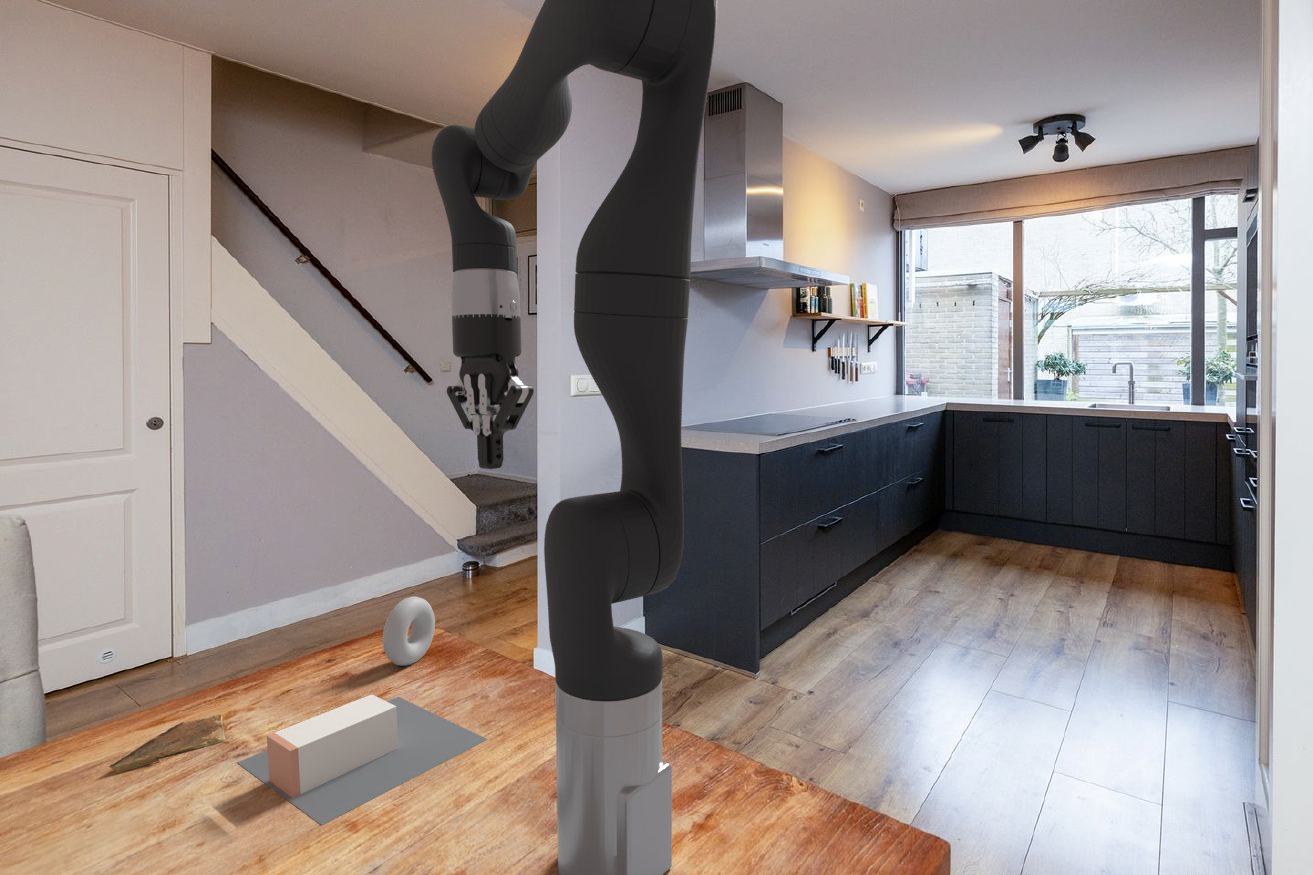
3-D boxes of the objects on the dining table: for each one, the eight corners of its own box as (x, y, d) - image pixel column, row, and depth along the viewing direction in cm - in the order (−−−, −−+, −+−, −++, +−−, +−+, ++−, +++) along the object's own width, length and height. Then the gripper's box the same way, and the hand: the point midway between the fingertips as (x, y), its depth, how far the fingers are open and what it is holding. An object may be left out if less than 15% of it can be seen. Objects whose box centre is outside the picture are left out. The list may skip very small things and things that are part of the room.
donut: (398, 679, 102) (396, 610, 101) (378, 675, 103) (375, 607, 102) (440, 652, 112) (438, 589, 111) (421, 649, 113) (419, 586, 112)
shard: (109, 779, 79) (108, 763, 78) (114, 748, 85) (113, 733, 85) (226, 750, 85) (225, 735, 84) (222, 723, 91) (221, 709, 91)
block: (396, 706, 82) (290, 750, 73) (398, 748, 83) (292, 797, 73) (371, 694, 85) (266, 735, 76) (373, 734, 86) (269, 780, 76)
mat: (487, 743, 85) (487, 738, 85) (321, 829, 69) (321, 824, 69) (398, 700, 96) (398, 696, 96) (237, 766, 80) (236, 762, 80)
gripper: (422, 316, 83) (428, 467, 84) (498, 307, 75) (503, 475, 76) (476, 320, 89) (480, 461, 90) (551, 312, 80) (555, 468, 82)
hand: (491, 467), depth 83 cm, fingers closed
